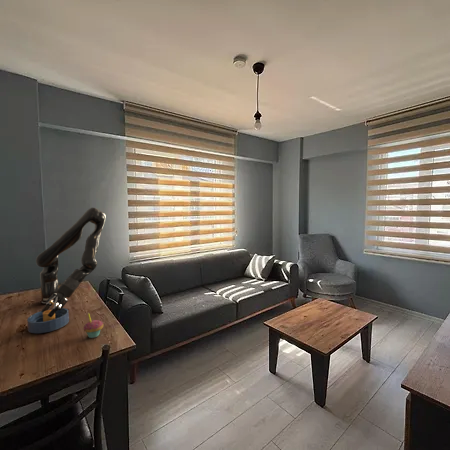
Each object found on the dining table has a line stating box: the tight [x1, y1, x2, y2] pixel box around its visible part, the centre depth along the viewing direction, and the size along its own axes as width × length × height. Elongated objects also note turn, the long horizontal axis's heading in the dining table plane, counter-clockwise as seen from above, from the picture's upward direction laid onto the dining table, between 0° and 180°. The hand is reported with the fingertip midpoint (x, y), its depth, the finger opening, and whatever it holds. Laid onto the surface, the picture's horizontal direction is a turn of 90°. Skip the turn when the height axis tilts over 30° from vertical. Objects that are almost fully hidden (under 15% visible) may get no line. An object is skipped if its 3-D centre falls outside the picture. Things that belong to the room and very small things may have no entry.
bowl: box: [26, 307, 70, 334], centre depth 130 cm, size 18×18×6 cm
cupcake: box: [82, 312, 104, 339], centre depth 120 cm, size 9×8×12 cm
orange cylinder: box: [43, 310, 55, 322], centre depth 129 cm, size 5×5×8 cm
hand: (45, 314), depth 128 cm, fingers open, 8 cm apart
